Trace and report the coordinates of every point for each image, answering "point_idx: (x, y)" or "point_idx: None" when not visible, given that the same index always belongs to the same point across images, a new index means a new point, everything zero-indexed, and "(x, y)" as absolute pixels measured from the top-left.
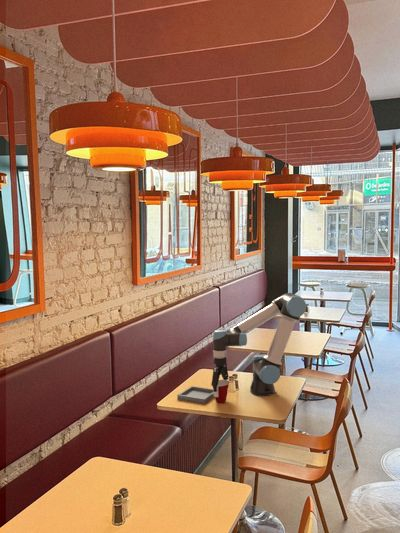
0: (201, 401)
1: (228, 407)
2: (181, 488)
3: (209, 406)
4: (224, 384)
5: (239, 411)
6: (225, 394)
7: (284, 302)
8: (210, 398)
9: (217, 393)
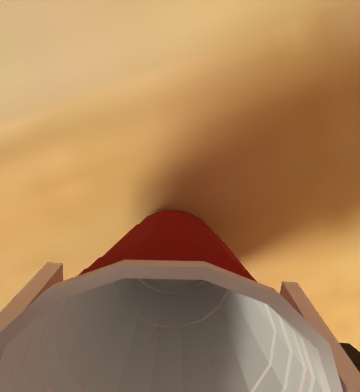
0: None
1: (278, 145)
2: None
3: None
4: (49, 335)
5: (355, 4)
6: (200, 231)
7: None
8: None
9: (315, 313)
